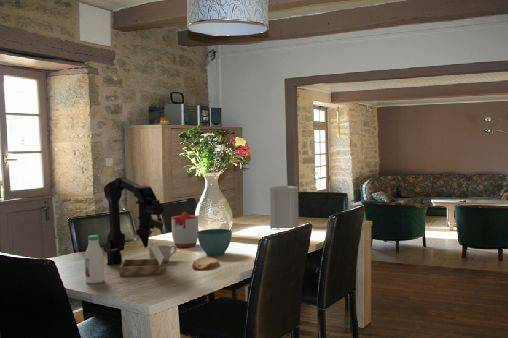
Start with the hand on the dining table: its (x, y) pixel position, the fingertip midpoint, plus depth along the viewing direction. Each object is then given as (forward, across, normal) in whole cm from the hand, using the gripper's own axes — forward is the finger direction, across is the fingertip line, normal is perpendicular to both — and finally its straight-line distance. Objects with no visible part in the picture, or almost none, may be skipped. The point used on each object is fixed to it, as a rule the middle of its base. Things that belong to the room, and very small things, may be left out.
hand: (146, 247), depth 250 cm
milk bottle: (+11, -16, +20) cm, 28 cm away
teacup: (+11, +19, -6) cm, 23 cm away
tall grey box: (+11, +110, -80) cm, 137 cm away
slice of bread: (+12, +7, -26) cm, 30 cm away
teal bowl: (+11, +31, -32) cm, 46 cm away
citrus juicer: (+11, +57, -15) cm, 60 cm away
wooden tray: (+11, 0, +2) cm, 11 cm away
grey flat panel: (+3, 0, -5) cm, 6 cm away
